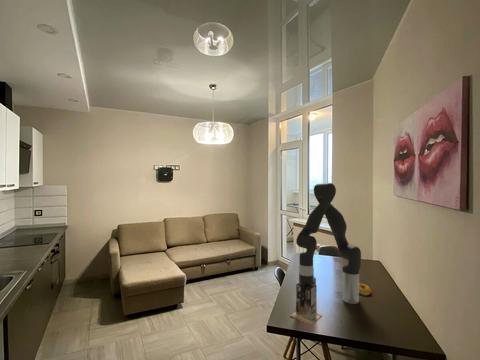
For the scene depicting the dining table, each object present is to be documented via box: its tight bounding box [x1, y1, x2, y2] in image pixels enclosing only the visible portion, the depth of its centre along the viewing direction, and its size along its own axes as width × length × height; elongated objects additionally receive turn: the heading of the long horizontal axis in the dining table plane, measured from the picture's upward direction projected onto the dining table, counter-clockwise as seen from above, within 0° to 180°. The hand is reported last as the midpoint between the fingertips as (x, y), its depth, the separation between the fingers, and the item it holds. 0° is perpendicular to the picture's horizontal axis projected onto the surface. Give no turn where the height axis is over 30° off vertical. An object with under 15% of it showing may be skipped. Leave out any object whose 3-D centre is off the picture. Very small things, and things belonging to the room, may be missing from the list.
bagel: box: [359, 282, 372, 297], centre depth 166 cm, size 10×11×5 cm
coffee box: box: [295, 281, 318, 320], centre depth 136 cm, size 9×6×16 cm
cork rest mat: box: [289, 311, 323, 326], centre depth 136 cm, size 12×12×1 cm
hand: (306, 303), depth 136 cm, fingers open, 8 cm apart
